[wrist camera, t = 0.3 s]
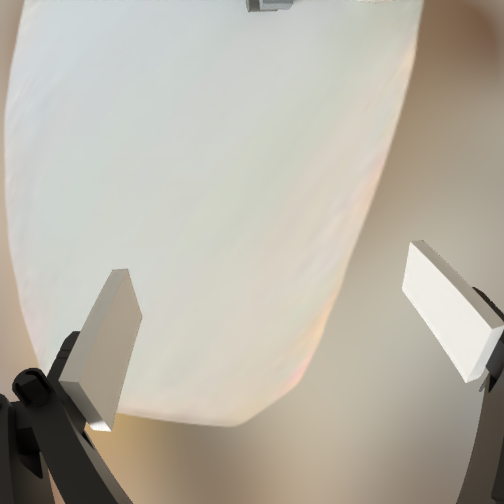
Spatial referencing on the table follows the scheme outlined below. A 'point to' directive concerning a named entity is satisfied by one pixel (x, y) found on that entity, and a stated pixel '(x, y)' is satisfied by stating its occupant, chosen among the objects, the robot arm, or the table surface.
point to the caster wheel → (267, 5)
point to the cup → (373, 1)
